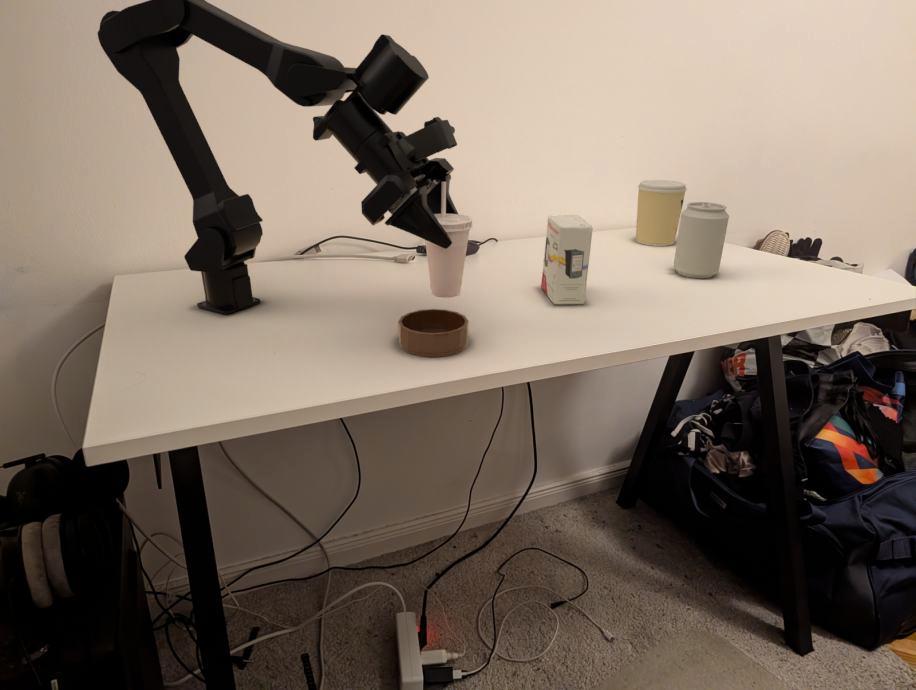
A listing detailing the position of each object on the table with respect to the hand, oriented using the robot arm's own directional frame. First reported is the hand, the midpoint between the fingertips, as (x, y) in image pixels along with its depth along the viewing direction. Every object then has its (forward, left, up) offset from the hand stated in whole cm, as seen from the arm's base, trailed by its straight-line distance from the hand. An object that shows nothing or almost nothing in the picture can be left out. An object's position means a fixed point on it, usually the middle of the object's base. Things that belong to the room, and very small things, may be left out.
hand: (456, 240), depth 75 cm
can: (+22, +45, -12) cm, 52 cm away
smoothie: (-1, 0, -7) cm, 7 cm away
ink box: (+7, +21, -12) cm, 25 cm away
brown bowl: (0, -5, -12) cm, 13 cm away
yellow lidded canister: (+10, +65, -12) cm, 67 cm away
